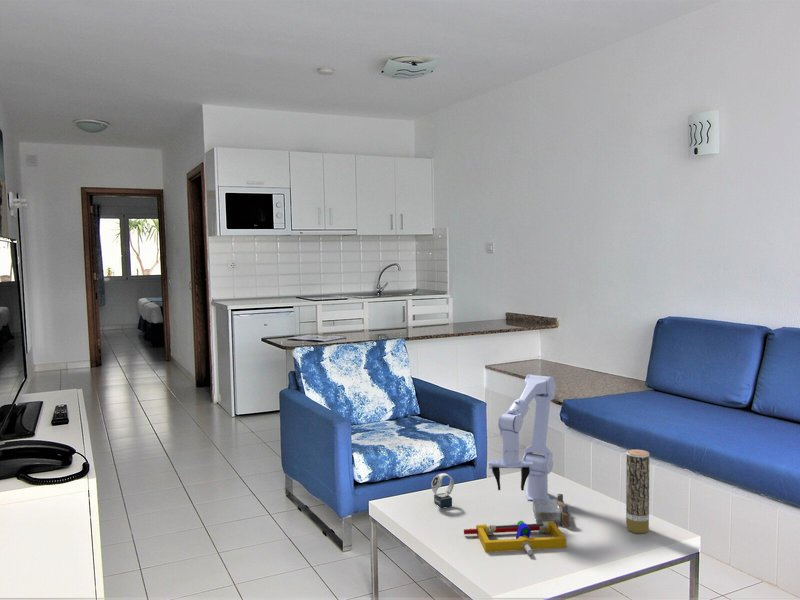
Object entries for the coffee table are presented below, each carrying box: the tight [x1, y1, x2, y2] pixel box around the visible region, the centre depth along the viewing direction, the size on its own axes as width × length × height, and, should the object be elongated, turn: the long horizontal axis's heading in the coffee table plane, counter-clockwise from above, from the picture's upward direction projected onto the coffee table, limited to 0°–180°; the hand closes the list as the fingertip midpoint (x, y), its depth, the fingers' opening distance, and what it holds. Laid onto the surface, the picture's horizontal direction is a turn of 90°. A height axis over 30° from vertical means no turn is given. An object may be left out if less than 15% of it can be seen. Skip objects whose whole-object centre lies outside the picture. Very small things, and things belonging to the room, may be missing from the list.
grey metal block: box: [532, 498, 562, 525], centre depth 226 cm, size 12×8×4 cm, turn 175°
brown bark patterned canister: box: [625, 448, 650, 534], centre depth 213 cm, size 7×7×25 cm
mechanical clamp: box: [463, 520, 567, 555], centre depth 205 cm, size 18×6×30 cm
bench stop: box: [555, 493, 570, 528], centre depth 224 cm, size 15×2×6 cm, turn 175°
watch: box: [430, 472, 455, 509], centre depth 238 cm, size 6×8×11 cm
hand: (510, 489), depth 226 cm, fingers open, 7 cm apart
